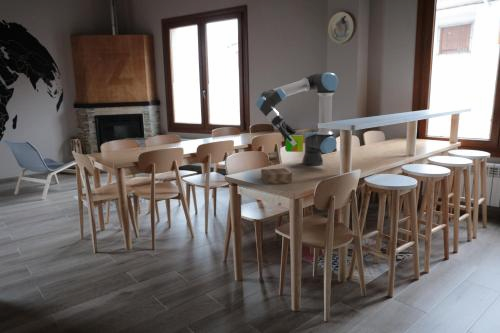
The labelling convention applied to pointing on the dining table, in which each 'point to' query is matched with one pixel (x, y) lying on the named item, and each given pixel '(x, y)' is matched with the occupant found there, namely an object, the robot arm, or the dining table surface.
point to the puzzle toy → (299, 146)
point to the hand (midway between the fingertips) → (297, 143)
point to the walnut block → (276, 176)
